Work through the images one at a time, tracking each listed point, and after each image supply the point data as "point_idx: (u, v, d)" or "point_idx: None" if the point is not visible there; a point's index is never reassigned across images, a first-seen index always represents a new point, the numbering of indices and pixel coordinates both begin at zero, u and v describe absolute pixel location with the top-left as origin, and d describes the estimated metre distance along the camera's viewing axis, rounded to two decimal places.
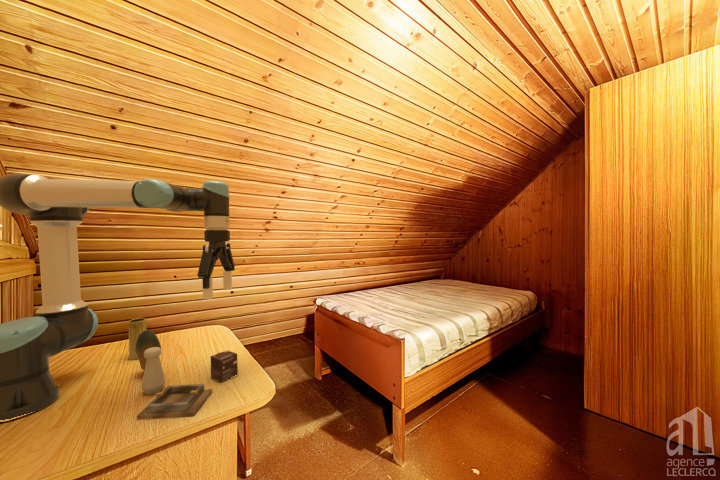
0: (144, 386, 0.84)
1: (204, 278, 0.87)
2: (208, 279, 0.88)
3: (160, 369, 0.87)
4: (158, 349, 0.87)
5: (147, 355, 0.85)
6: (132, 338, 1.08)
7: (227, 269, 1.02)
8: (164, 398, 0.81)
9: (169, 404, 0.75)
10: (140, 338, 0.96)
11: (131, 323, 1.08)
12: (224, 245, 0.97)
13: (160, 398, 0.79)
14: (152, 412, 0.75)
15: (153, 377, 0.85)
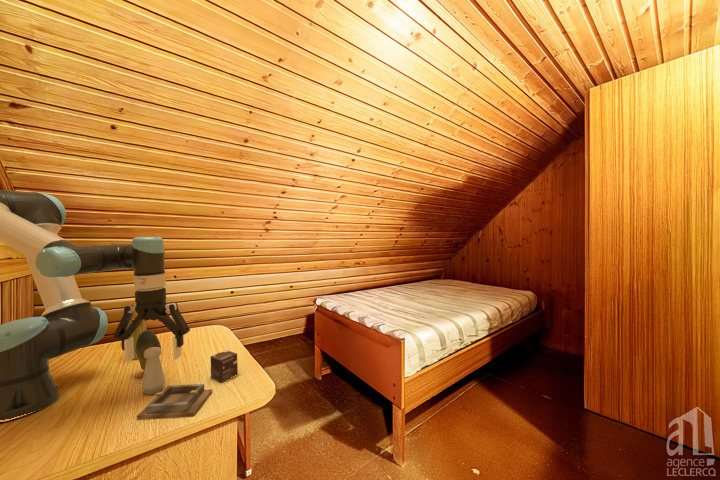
0: (144, 386, 0.84)
1: None
2: (123, 341, 0.85)
3: (160, 369, 0.87)
4: (158, 349, 0.87)
5: (147, 355, 0.85)
6: None
7: None
8: (164, 398, 0.81)
9: (169, 404, 0.75)
10: (140, 338, 0.96)
11: (131, 323, 1.08)
12: (158, 307, 0.85)
13: (160, 398, 0.79)
14: (152, 412, 0.75)
15: (153, 377, 0.85)
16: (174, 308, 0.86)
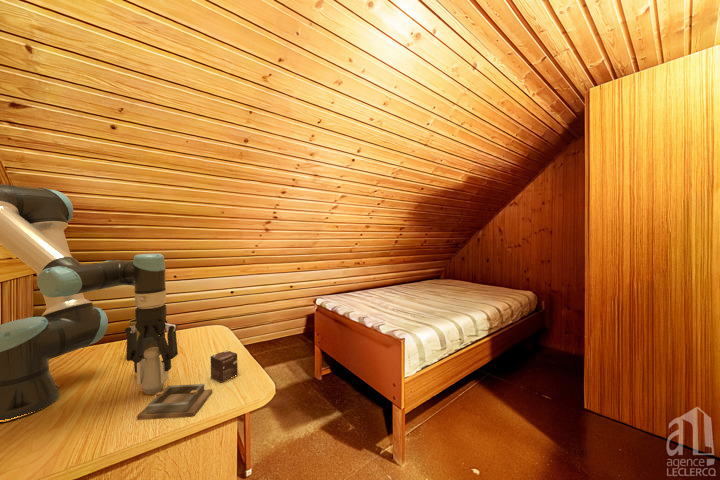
0: (144, 386, 0.84)
1: None
2: (136, 363, 0.86)
3: None
4: (158, 349, 0.87)
5: (147, 355, 0.85)
6: None
7: None
8: (164, 398, 0.81)
9: (169, 404, 0.75)
10: None
11: (131, 323, 1.08)
12: (159, 323, 0.86)
13: (160, 398, 0.79)
14: (152, 412, 0.75)
15: (153, 377, 0.85)
16: (173, 330, 0.86)
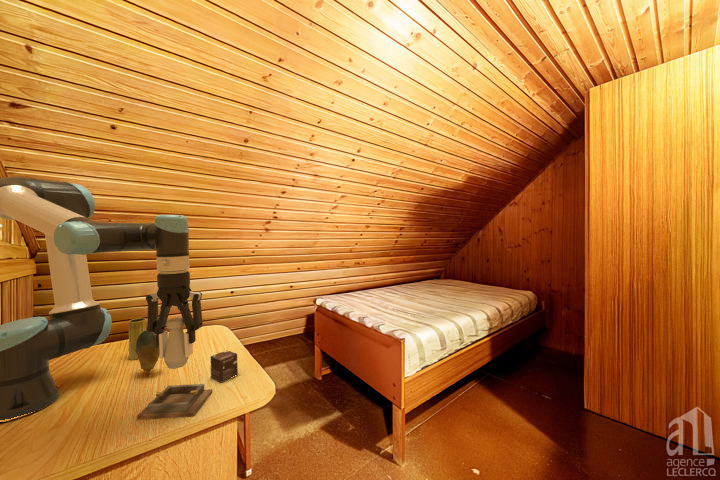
0: (167, 359, 0.77)
1: None
2: (158, 335, 0.78)
3: (184, 341, 0.80)
4: (182, 319, 0.79)
5: (170, 325, 0.77)
6: (132, 338, 1.08)
7: None
8: (164, 398, 0.81)
9: (169, 404, 0.75)
10: (140, 338, 0.95)
11: (131, 323, 1.08)
12: (182, 291, 0.78)
13: (160, 398, 0.79)
14: (152, 412, 0.75)
15: (177, 349, 0.78)
16: (198, 299, 0.79)
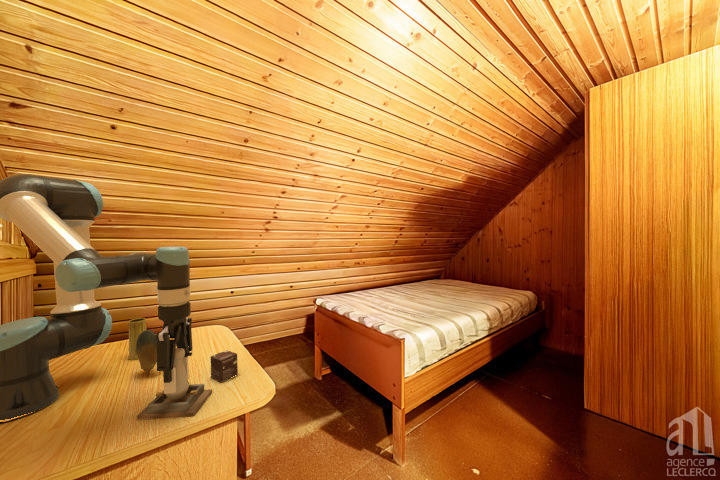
0: (184, 387, 0.79)
1: (165, 371, 0.75)
2: (170, 371, 0.76)
3: None
4: None
5: (183, 353, 0.80)
6: (132, 338, 1.08)
7: None
8: (164, 398, 0.81)
9: (169, 404, 0.75)
10: (140, 338, 0.95)
11: (131, 323, 1.08)
12: (184, 318, 0.82)
13: (160, 398, 0.79)
14: (152, 412, 0.75)
15: (186, 375, 0.81)
16: None
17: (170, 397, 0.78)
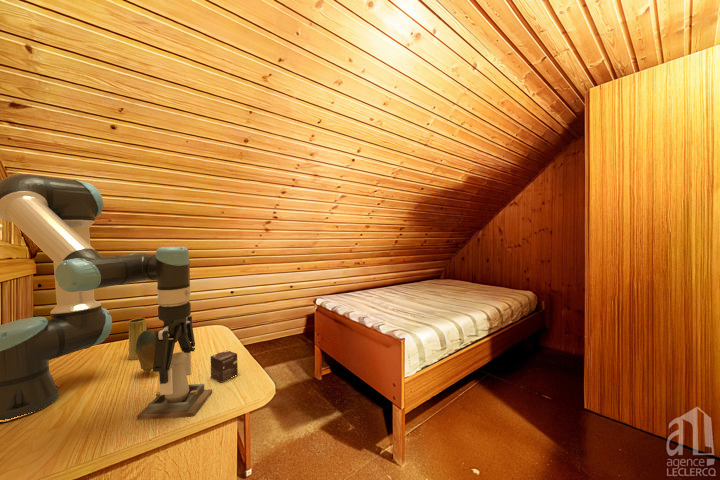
0: (185, 391, 0.79)
1: (161, 372, 0.73)
2: (166, 372, 0.74)
3: None
4: None
5: (184, 357, 0.80)
6: (132, 338, 1.08)
7: (185, 350, 0.85)
8: (164, 398, 0.81)
9: (169, 404, 0.75)
10: (140, 338, 0.96)
11: (131, 323, 1.08)
12: (184, 319, 0.82)
13: (160, 398, 0.79)
14: (152, 412, 0.75)
15: None
16: None
17: (170, 402, 0.78)
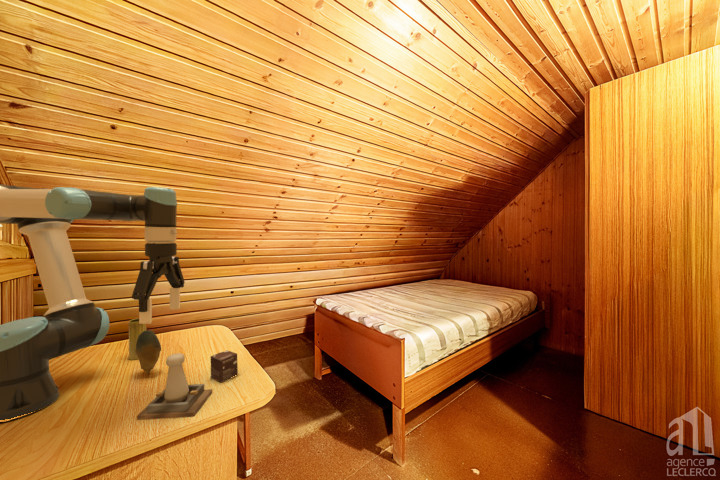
0: (184, 392, 0.79)
1: (141, 300, 0.75)
2: (146, 301, 0.76)
3: None
4: None
5: (183, 358, 0.80)
6: (132, 338, 1.08)
7: (175, 286, 0.90)
8: (164, 398, 0.81)
9: (169, 404, 0.75)
10: (140, 338, 0.96)
11: (131, 323, 1.08)
12: (170, 260, 0.86)
13: (160, 398, 0.79)
14: (152, 412, 0.75)
15: (186, 380, 0.81)
16: None
17: (170, 402, 0.78)
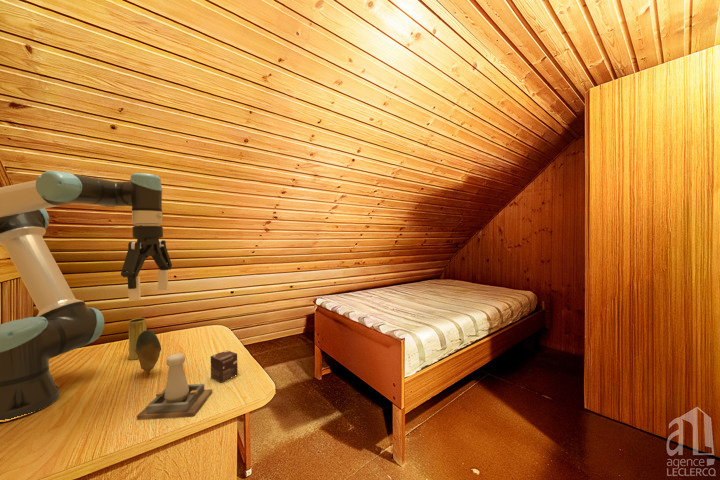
0: (184, 392, 0.79)
1: (129, 277, 0.80)
2: (134, 279, 0.81)
3: None
4: None
5: (183, 359, 0.80)
6: (132, 338, 1.08)
7: (162, 268, 0.96)
8: (164, 398, 0.81)
9: (169, 404, 0.75)
10: (140, 338, 0.96)
11: (131, 323, 1.08)
12: (157, 242, 0.91)
13: (160, 398, 0.79)
14: (152, 412, 0.75)
15: (186, 380, 0.81)
16: None
17: None
